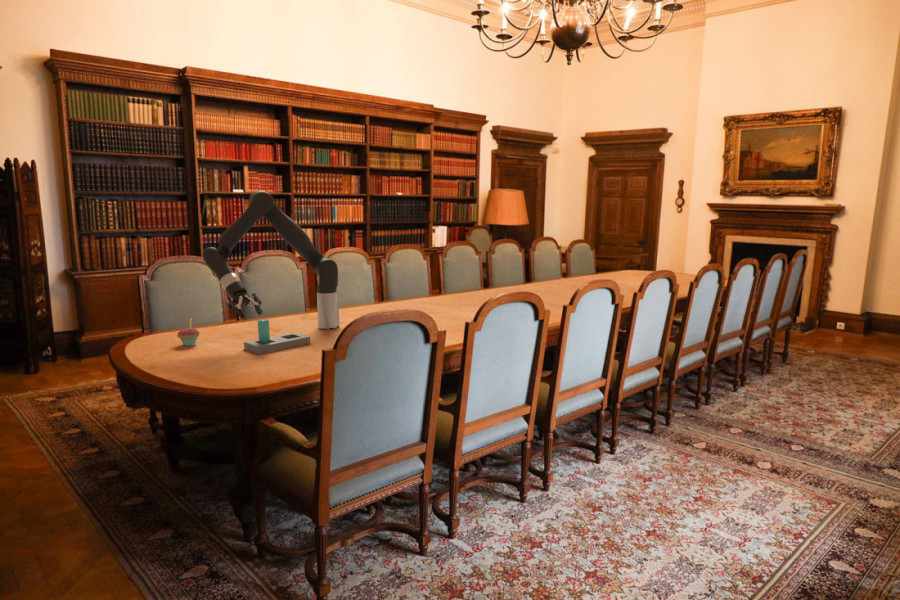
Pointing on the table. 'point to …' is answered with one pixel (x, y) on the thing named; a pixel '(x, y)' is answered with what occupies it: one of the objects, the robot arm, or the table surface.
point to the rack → (277, 343)
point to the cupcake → (188, 335)
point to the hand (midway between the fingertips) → (252, 315)
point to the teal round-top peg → (263, 331)
